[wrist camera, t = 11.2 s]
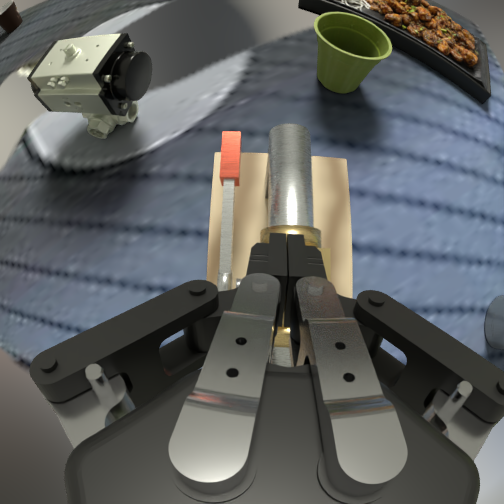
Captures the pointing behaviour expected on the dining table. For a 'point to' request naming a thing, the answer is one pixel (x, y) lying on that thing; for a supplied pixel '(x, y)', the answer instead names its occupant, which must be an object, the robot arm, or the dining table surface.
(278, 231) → the valve body
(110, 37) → the ball valve
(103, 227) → the dining table surface
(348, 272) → the mounting board
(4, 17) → the coffee mug
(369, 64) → the plant pot
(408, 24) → the food platter
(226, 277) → the valve lever
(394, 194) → the dining table surface
